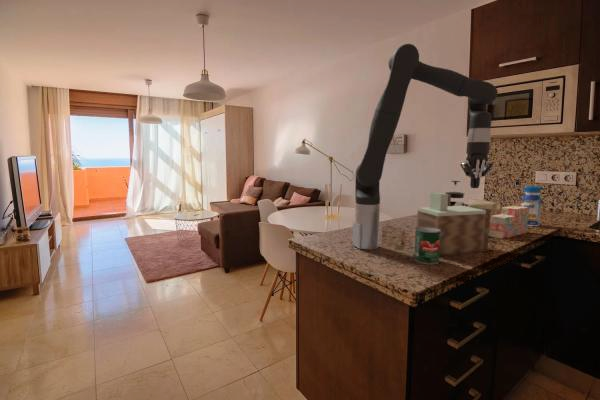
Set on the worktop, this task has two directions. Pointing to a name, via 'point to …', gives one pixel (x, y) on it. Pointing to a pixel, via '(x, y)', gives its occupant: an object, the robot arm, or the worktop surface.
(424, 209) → the lid
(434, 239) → the canned tomato
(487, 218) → the post
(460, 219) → the storage box
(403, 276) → the worktop surface
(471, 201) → the key bar
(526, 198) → the beverage bottle
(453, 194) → the french press
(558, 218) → the worktop surface
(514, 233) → the stack of blocks
